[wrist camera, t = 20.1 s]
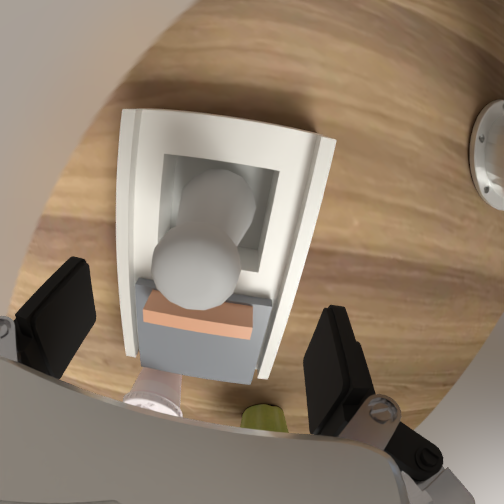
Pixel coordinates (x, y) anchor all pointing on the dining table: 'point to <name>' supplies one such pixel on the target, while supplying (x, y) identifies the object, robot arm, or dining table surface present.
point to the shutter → (201, 335)
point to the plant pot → (264, 418)
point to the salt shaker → (204, 241)
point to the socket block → (241, 163)
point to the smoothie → (156, 391)
